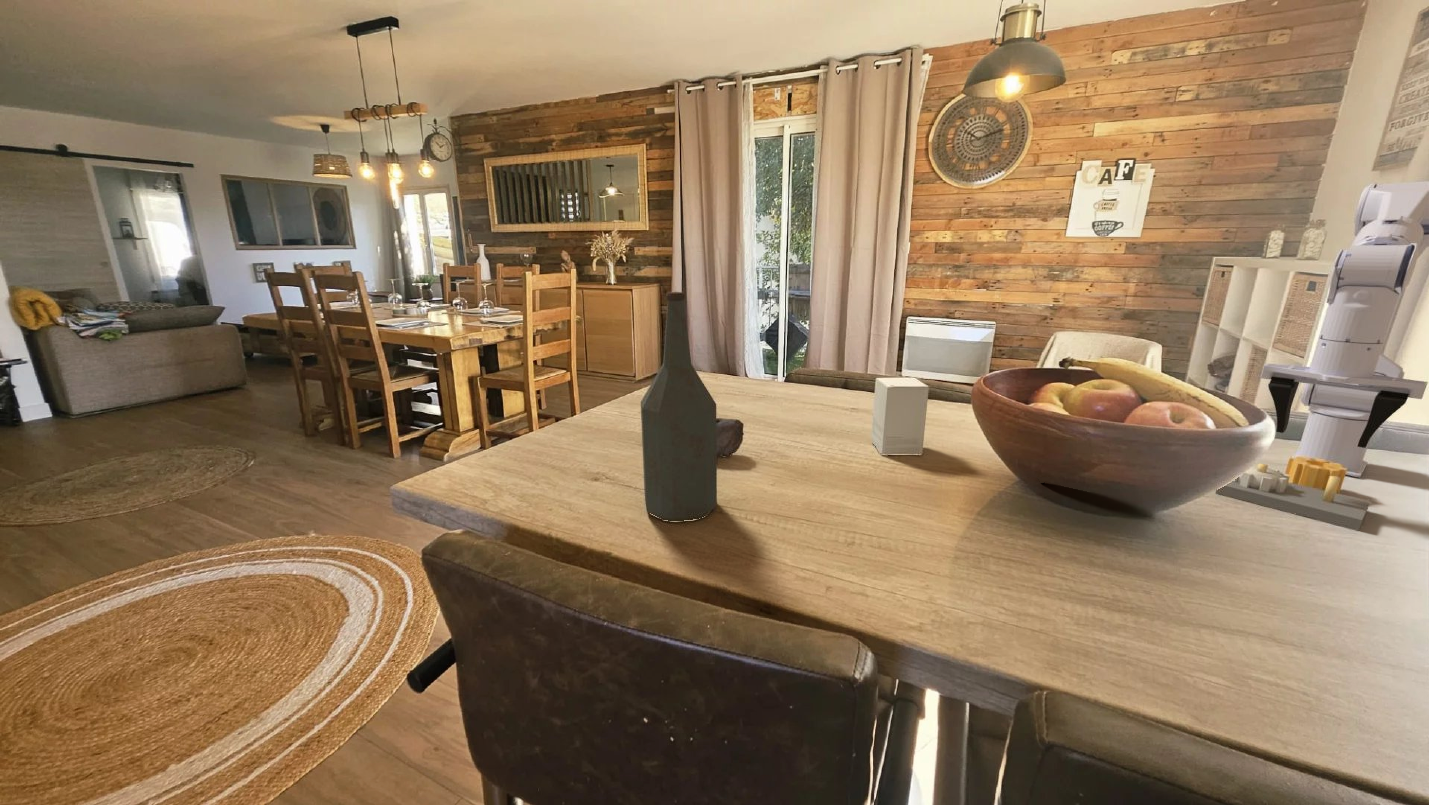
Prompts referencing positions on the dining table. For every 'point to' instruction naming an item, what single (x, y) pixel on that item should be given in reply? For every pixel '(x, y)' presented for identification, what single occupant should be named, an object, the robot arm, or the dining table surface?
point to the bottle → (678, 430)
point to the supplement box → (899, 415)
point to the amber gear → (1314, 472)
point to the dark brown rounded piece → (728, 436)
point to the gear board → (1297, 497)
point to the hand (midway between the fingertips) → (1319, 438)
